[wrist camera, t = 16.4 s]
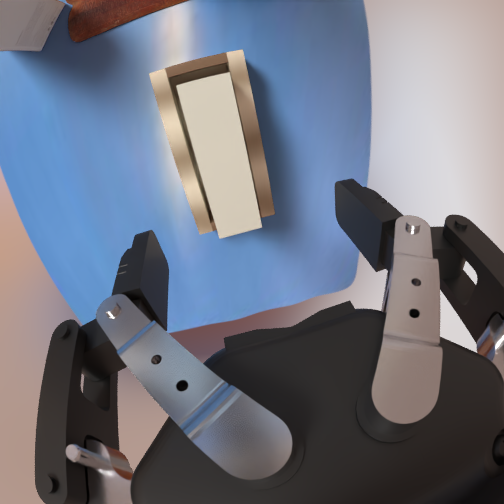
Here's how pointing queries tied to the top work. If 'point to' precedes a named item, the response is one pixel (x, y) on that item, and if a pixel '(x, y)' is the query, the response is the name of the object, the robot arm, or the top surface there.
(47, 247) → the top surface
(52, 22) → the small box
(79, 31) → the wooden tablet
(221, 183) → the strip
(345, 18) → the top surface
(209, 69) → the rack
